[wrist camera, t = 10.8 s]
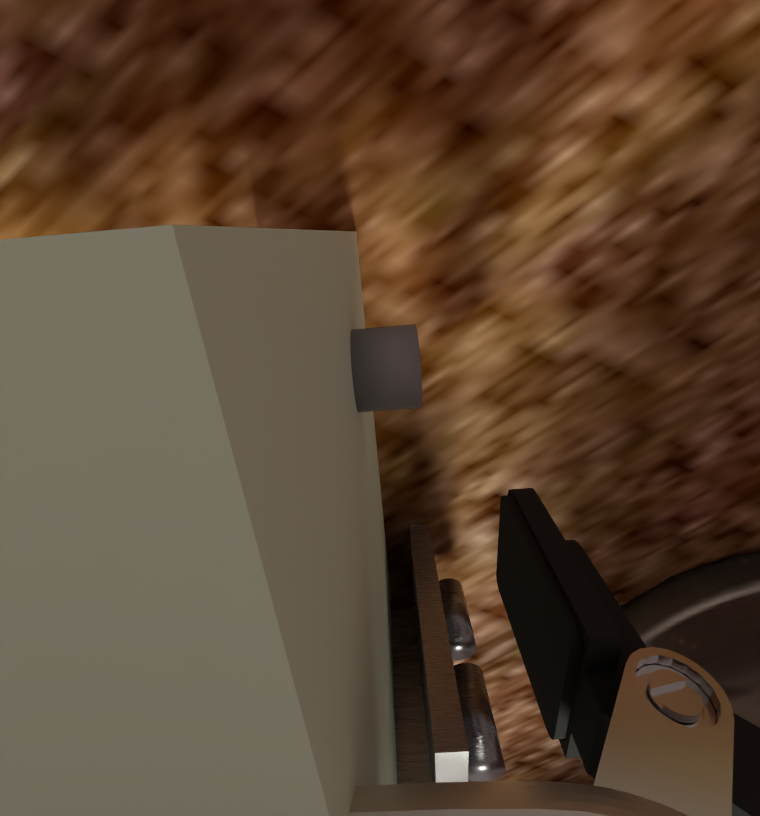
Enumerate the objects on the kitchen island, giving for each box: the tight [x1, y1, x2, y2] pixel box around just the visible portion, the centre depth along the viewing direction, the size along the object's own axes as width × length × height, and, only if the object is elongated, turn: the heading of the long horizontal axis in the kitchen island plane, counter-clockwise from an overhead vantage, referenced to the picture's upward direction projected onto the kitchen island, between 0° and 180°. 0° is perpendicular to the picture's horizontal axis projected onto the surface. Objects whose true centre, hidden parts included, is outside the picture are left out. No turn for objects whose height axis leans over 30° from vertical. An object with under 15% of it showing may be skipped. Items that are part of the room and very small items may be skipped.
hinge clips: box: [391, 523, 505, 784], centre depth 14 cm, size 8×6×8 cm
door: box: [0, 225, 422, 816], centre depth 10 cm, size 15×4×12 cm, turn 5°
